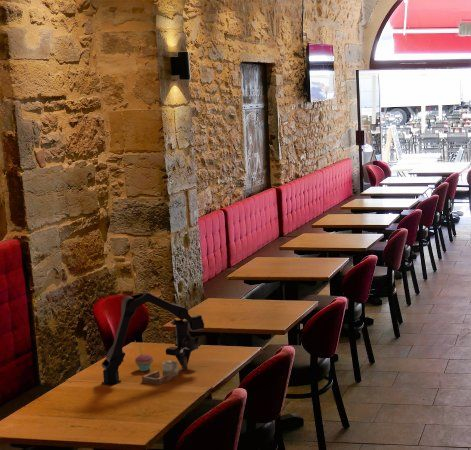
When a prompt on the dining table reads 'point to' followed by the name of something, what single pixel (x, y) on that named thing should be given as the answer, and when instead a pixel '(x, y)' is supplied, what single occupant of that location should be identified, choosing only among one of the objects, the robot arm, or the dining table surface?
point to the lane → (152, 377)
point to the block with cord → (173, 367)
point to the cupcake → (143, 361)
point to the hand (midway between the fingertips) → (184, 365)
